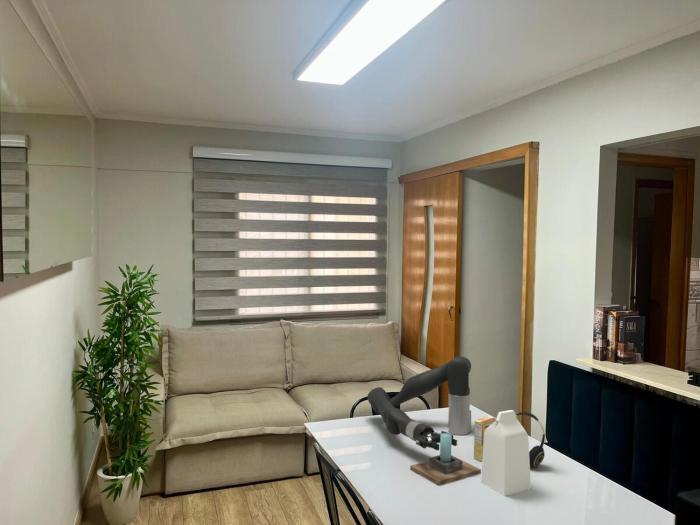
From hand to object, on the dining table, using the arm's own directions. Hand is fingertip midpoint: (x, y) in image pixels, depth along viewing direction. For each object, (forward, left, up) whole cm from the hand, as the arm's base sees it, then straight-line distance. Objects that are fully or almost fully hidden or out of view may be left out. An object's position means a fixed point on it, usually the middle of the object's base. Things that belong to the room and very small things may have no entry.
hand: (447, 445), depth 204 cm
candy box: (-22, -3, -10) cm, 24 cm away
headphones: (-31, +10, -10) cm, 34 cm away
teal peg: (0, -1, -8) cm, 9 cm away
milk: (-10, +19, -10) cm, 24 cm away
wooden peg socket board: (0, -1, -10) cm, 10 cm away
